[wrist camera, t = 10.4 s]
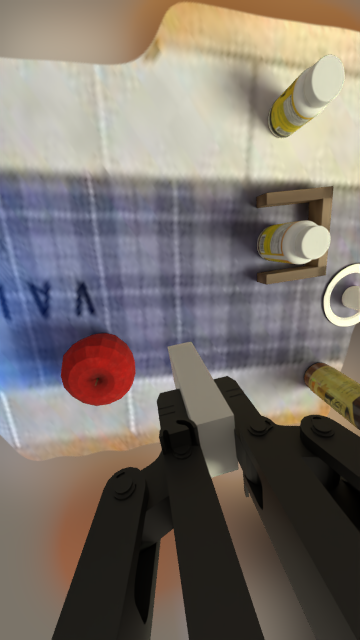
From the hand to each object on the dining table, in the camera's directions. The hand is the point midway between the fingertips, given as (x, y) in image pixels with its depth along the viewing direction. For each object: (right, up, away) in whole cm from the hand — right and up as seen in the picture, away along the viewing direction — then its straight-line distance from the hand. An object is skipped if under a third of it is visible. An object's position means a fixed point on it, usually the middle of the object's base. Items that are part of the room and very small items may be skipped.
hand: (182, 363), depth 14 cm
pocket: (+17, +16, +23) cm, 33 cm away
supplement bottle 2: (+15, +15, +23) cm, 32 cm away
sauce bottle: (+28, -9, +33) cm, 45 cm away
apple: (-13, -2, +24) cm, 27 cm away
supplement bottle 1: (+14, +31, +18) cm, 39 cm away
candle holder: (+32, +7, +29) cm, 44 cm away
